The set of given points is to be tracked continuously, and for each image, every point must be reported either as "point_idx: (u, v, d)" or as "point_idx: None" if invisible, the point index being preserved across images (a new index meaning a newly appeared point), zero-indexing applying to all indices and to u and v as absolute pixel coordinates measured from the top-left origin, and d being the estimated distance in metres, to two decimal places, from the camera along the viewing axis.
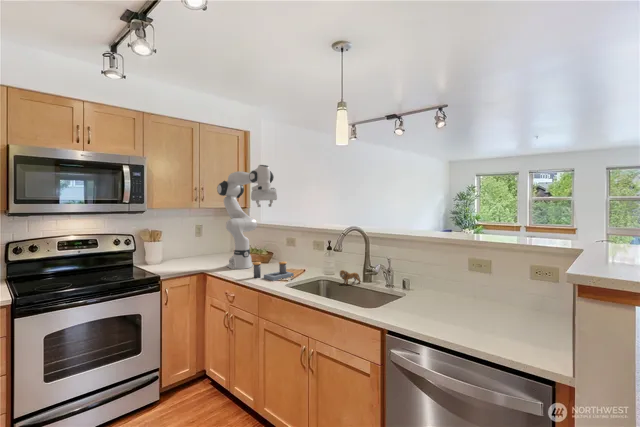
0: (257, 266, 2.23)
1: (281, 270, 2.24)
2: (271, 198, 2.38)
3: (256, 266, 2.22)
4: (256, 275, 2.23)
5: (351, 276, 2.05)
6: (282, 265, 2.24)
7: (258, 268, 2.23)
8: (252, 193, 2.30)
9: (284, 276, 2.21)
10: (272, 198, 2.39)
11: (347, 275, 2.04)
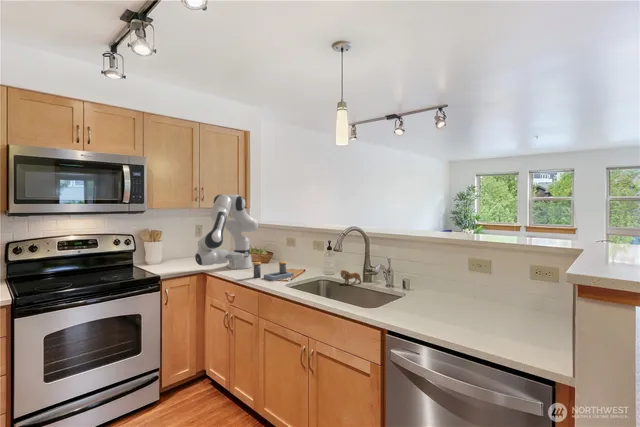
0: (257, 266, 2.23)
1: (281, 270, 2.24)
2: None
3: (256, 266, 2.22)
4: (256, 275, 2.23)
5: (352, 276, 2.05)
6: (282, 265, 2.24)
7: (258, 268, 2.23)
8: None
9: (284, 276, 2.21)
10: None
11: (348, 275, 2.05)
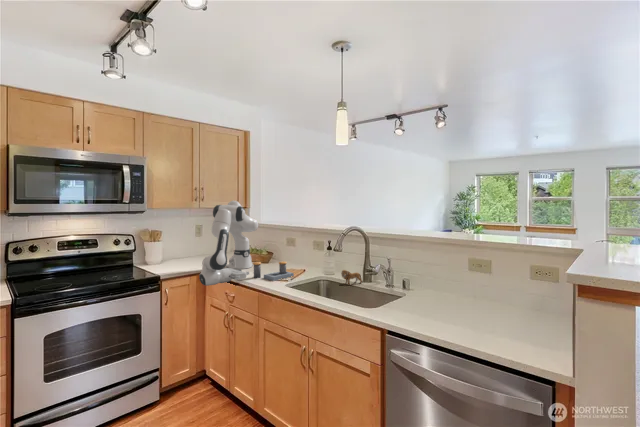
0: (257, 266, 2.23)
1: (281, 270, 2.24)
2: None
3: (256, 266, 2.22)
4: (256, 275, 2.23)
5: (353, 276, 2.05)
6: (282, 265, 2.24)
7: (258, 268, 2.23)
8: None
9: (284, 276, 2.21)
10: None
11: (349, 275, 2.05)
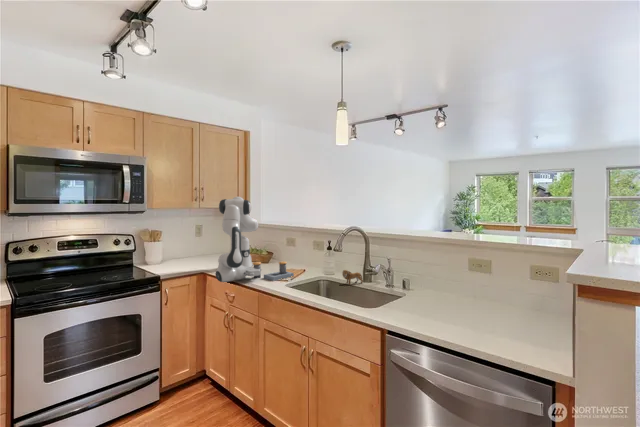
0: (257, 266, 2.23)
1: (281, 270, 2.24)
2: None
3: (256, 266, 2.22)
4: None
5: (354, 276, 2.06)
6: (282, 265, 2.24)
7: (258, 268, 2.23)
8: None
9: (284, 276, 2.21)
10: None
11: (350, 275, 2.05)
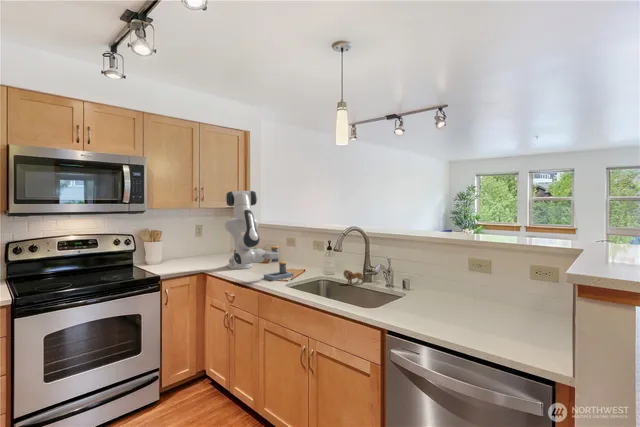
0: (275, 250, 2.19)
1: (281, 270, 2.24)
2: None
3: (274, 250, 2.19)
4: (274, 259, 2.19)
5: (355, 276, 2.06)
6: (282, 265, 2.24)
7: None
8: None
9: (284, 276, 2.21)
10: None
11: (351, 275, 2.05)
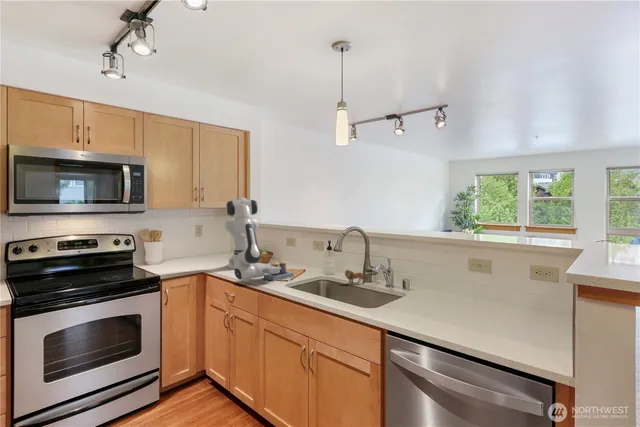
0: None
1: (281, 270, 2.24)
2: None
3: None
4: None
5: (356, 276, 2.06)
6: (282, 265, 2.24)
7: None
8: None
9: (284, 276, 2.21)
10: None
11: (352, 275, 2.05)
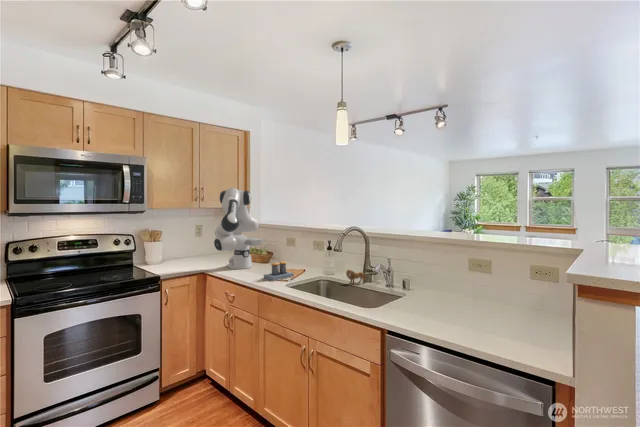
0: (276, 267, 2.20)
1: (281, 270, 2.24)
2: None
3: (274, 267, 2.20)
4: None
5: (357, 276, 2.06)
6: (282, 265, 2.24)
7: (276, 269, 2.20)
8: None
9: (284, 276, 2.21)
10: None
11: (353, 275, 2.05)
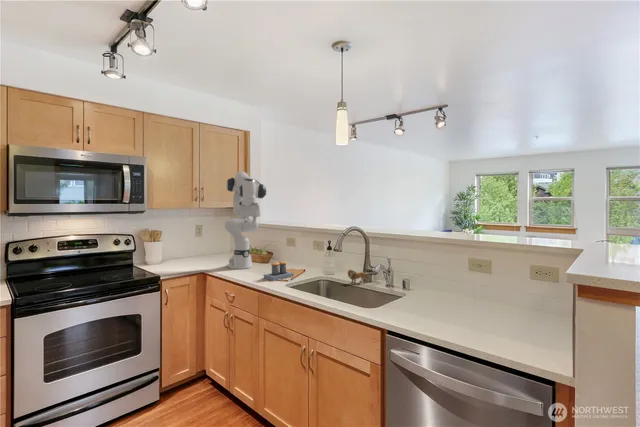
0: (276, 267, 2.20)
1: (281, 270, 2.24)
2: (251, 214, 2.17)
3: (274, 267, 2.20)
4: None
5: (359, 275, 2.06)
6: (282, 265, 2.24)
7: (276, 269, 2.20)
8: None
9: (284, 276, 2.21)
10: (252, 214, 2.17)
11: (355, 275, 2.05)
